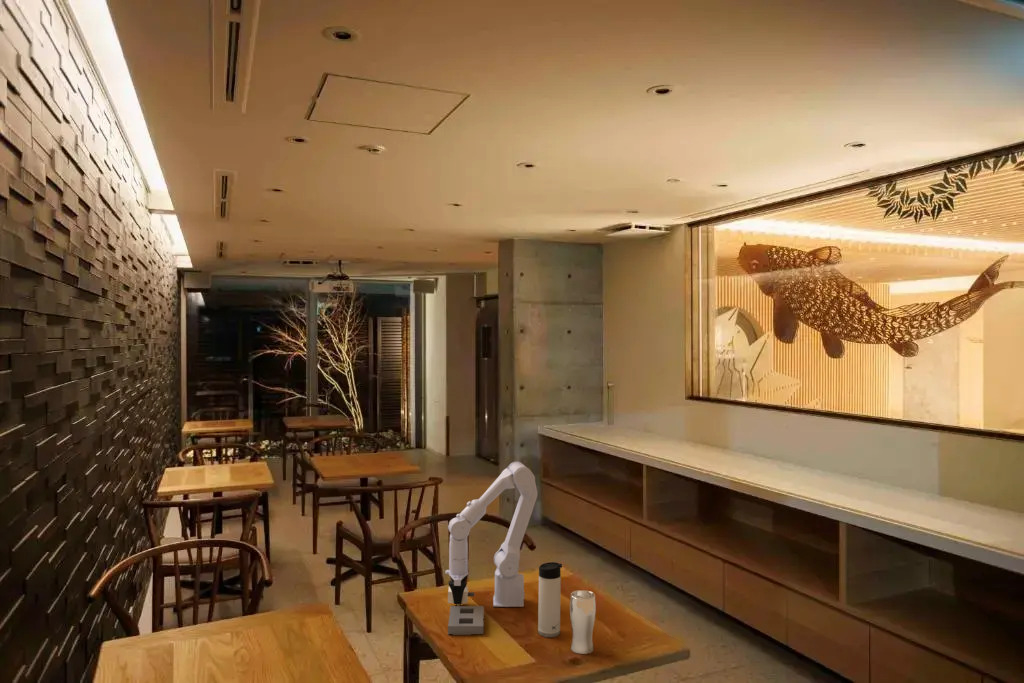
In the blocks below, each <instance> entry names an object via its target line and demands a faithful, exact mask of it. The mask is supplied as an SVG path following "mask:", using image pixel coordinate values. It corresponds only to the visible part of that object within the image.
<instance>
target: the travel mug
mask: <svg viewBox="0 0 1024 683" xmlns="http://www.w3.org/2000/svg"><path fill="white" fill-rule="evenodd" d="M562 568H563V564H562V563H560V562H554V561H553V562H552V561H551V562H545V563H542V564H540V566H539V567H538V602H537V603H538V605H537V606H538V612H537V614H538V616H537V617H538V618H537V620H538V623H537V624H538V625H537V627H538V628H537V632H538V634H539V635H540V636H541V637H544V638H556V637H558V636H559V635H560V634H561V593H562V592H561V591H562V590H561V589H562V588H561V583H562V582H561V581H562V579H561V576H562V575H561V574H562V573H561V570H562Z"/></svg>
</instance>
